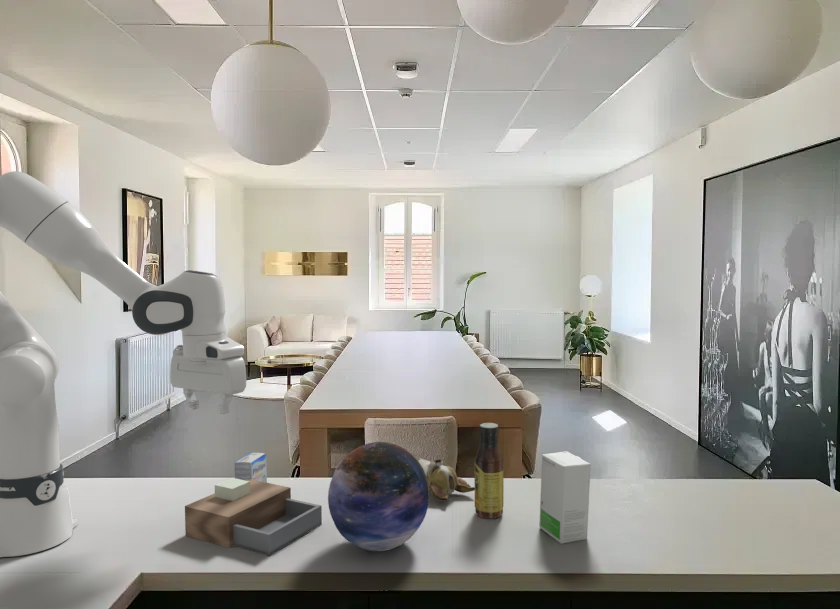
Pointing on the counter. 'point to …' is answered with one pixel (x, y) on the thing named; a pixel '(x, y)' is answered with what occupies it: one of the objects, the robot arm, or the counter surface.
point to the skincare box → (564, 496)
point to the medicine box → (251, 467)
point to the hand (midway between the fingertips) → (208, 411)
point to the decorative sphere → (378, 496)
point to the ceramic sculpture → (443, 479)
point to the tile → (232, 489)
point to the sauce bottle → (489, 474)
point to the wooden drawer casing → (235, 512)
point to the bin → (280, 528)
